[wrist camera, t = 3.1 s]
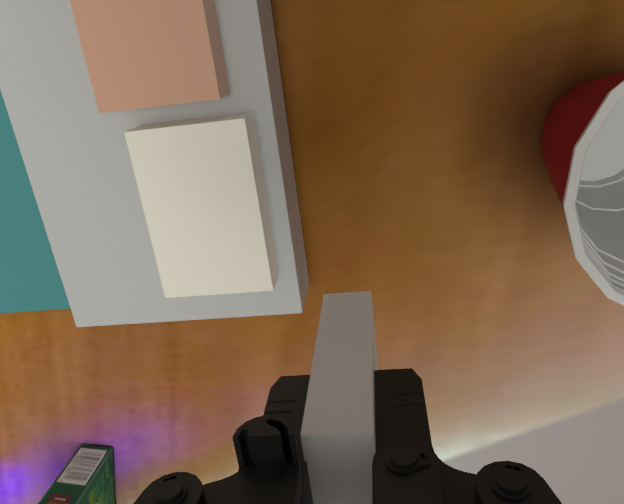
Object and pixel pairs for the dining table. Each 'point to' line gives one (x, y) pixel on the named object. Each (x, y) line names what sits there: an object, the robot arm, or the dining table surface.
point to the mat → (23, 236)
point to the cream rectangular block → (205, 205)
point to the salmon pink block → (151, 52)
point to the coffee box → (85, 478)
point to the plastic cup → (591, 175)
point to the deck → (119, 171)
